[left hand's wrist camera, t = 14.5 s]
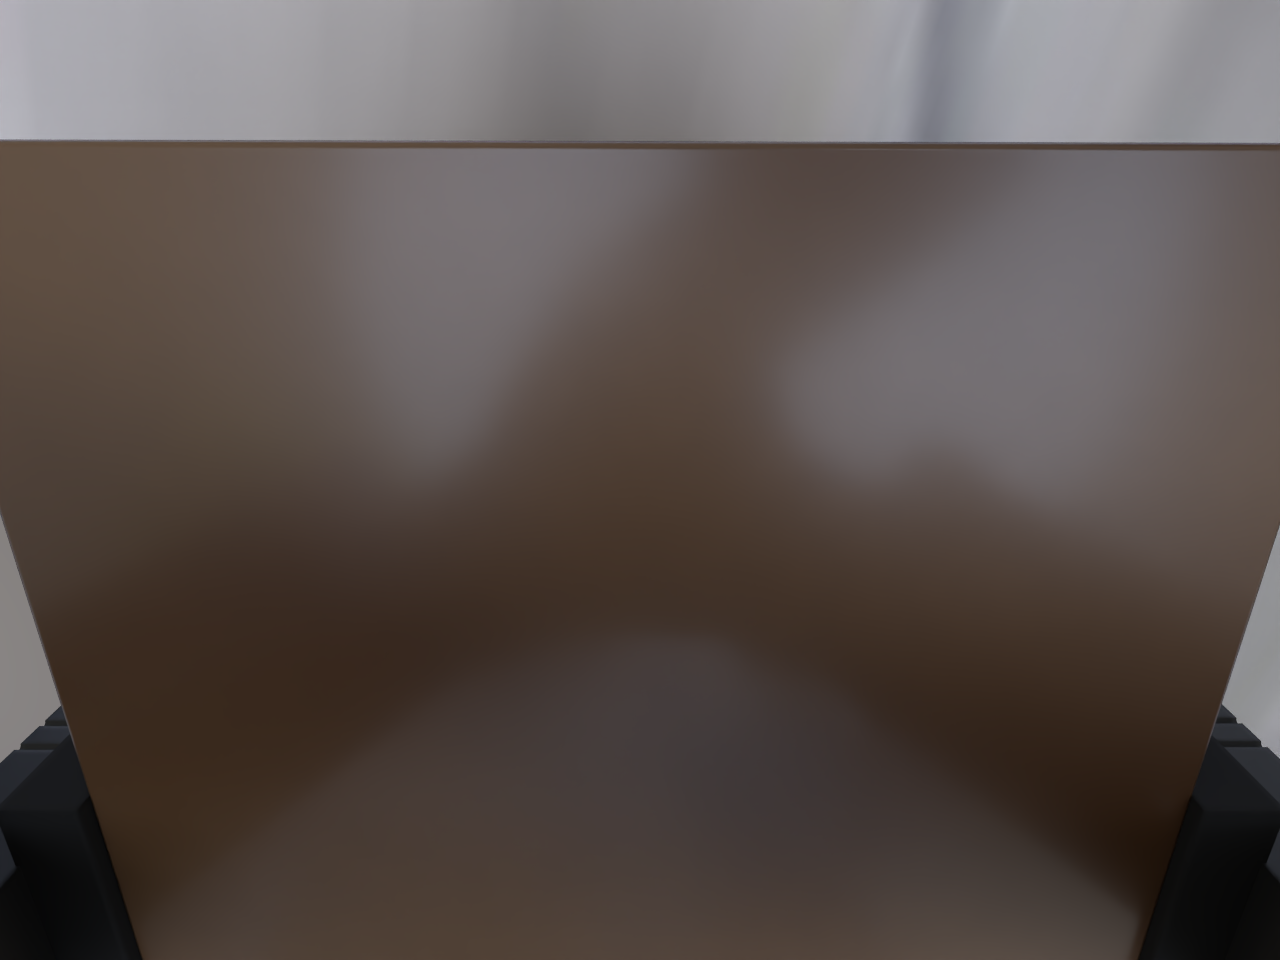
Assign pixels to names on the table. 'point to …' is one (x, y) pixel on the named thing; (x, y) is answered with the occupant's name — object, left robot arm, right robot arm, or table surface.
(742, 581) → the thick board
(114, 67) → the table surface
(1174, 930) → the left robot arm
